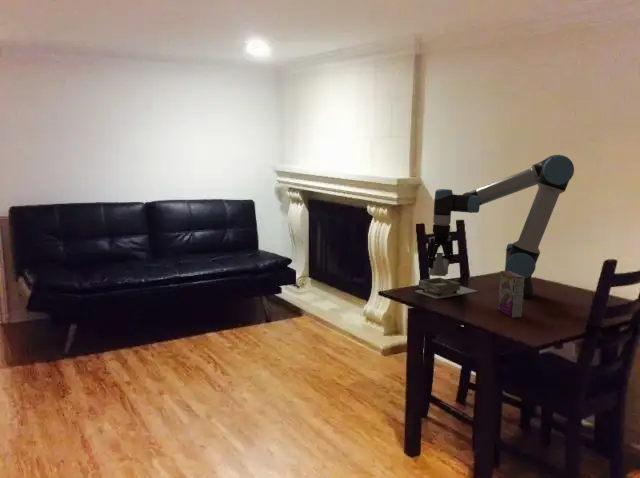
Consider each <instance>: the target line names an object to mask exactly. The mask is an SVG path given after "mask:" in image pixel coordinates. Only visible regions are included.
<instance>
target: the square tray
mask: <svg viewBox="0 0 640 478" xmlns="http://www.w3.org/2000/svg"><path fill="white" fill-rule="evenodd" d="M460 286H461V283H460V282H457V281H454V280H450V279H446V278H443V277H441V276H438V277H434V278H426V279H420V280H418V288H419V289H420V290H423V291H425V289H426V290H429V291H432V292H435V293H437V295H438V296H440V295H441V293H446V292H452V291H453V293H457V291H458V290H460Z"/></svg>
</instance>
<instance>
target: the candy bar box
mask: <svg viewBox="0 0 640 478" xmlns="http://www.w3.org/2000/svg"><path fill="white" fill-rule="evenodd" d="M524 283H525V277H523V276H521V275H518V274H516V273H514V272H511V271H505V270H502V271H499V285H498V299H497V301H498V302H497V310H498V311H499V312H501V313H502V314H503V315H507V316H508V317H509V318H512V319H516V318H517V319H518V318H523V308H524V307H523V306H524V298H523V297H524Z"/></svg>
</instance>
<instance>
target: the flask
mask: <svg viewBox="0 0 640 478" xmlns="http://www.w3.org/2000/svg"><path fill="white" fill-rule="evenodd" d="M443 256H444V253H443V252H437V254H436V256H435V276H434V277H446V276H447V275H448V274H446V271H445V268H444V264H443V259H444V258H443Z"/></svg>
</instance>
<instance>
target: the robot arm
mask: <svg viewBox="0 0 640 478" xmlns="http://www.w3.org/2000/svg"><path fill="white" fill-rule="evenodd" d="M574 172H575V167H574V162H573V161H572V160H571V159H570V158H569V157H568V156H566V155H561V154H553V155H550V156H548V157H547V158H544V159H543V160H541V161H539V162H538V163H535V164H532V166H531V167H530V168H528V169H526V170H523V171H520V172H518V173H515V174H513V175H510V176H507V177H504V178H502V179H499V180H497V181H494V182H492V183H489V184H487V185H486V184H485V185H484V186H481V187H478V188H476V189H474V190H471V191H469V192H465V193H463V194H454V193H453V190H452V189H449V188H441V189H440V188H439V189H436V190H435V191H434V201H433V220H432V221H433V225H432V233H433V236H432V237H427V248H426V253H425V259H424V260H426V261H428V269H429V270H428V275H429V276H432V277H436V276H435V262H436V257H437V253H438V250H439V248H440V247H441V249H442V253H443V256H444V258H443V264H444V268H445V271H446V274H447V275H448V274H449V267H450V261H452V259H453V258H454V245H453V244H454V243H453V241H454V236H451V235H449V234H450V232H451V225H450V224H451V222H452V221H451V220H452V219H451V218H452V212H458V213H459V212H460V213H470V214H476V213H477V214H478V213H479V212H480V207H481V206H482V205H485V204H488V203H490V202H493V201H495V200H500V199H502V198H504V197H506V196H510V195H513V194H515V193H517V192H520V191H523V190H525V189H528V188H531V187H534V186H536V185H537V186H538V189H537V191H536V194H535V197H534V199H533V201H532V204H531V207H530V209H529V212H528V215H527V217H526V220H525V222H524V225H523V227H522V230H521V232H520V235H519V237H518V240H517V241H514V242H513V243H508V244H507V245H506V248H505V265H504V271H511V272H514V273H516V274H518V275H521V276H523V277H525V283H524V297H523V299H524V298H525V299H526V298H531V297H535V288H534V285H533V284H534V283H533V279H532V275H533V274H534V272H535V271H536V264H537V262H538V259H539V258H540V254H541V250H540V249H539V246H540V244H541V241H542V239H543V236H544V234H545V231H546V229H547V226H548V224H549V221H550V219H551V217H552V214H553V212H554V209H555V206H556V204H557V202H558V200H559V197H560V194H562V193H564V192H566V189H567V187H568V185H569V183H570V180H571V179H572V178H573V176H574V174H575V173H574Z"/></svg>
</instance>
